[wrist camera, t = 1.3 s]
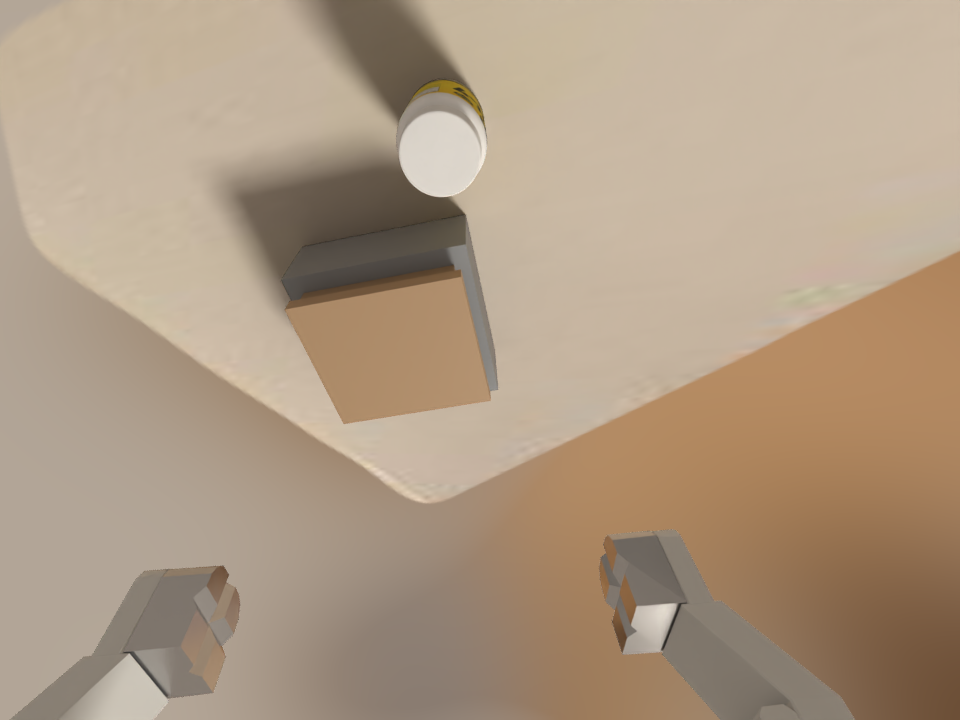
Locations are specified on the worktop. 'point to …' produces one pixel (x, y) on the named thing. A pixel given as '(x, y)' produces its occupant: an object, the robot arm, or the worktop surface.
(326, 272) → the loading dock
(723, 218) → the worktop surface
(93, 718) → the robot arm
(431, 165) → the supplement bottle
